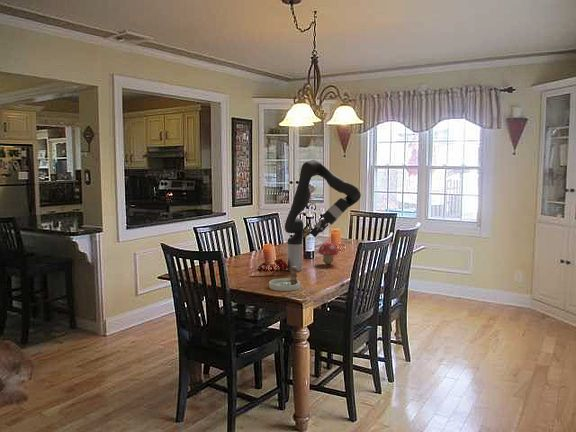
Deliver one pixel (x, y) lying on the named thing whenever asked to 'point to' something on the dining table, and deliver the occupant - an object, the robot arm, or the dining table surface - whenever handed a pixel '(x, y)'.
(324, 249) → the decorative mushroom
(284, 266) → the decorative berry sprig
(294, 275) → the bead stack
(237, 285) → the dining table surface
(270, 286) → the tray
